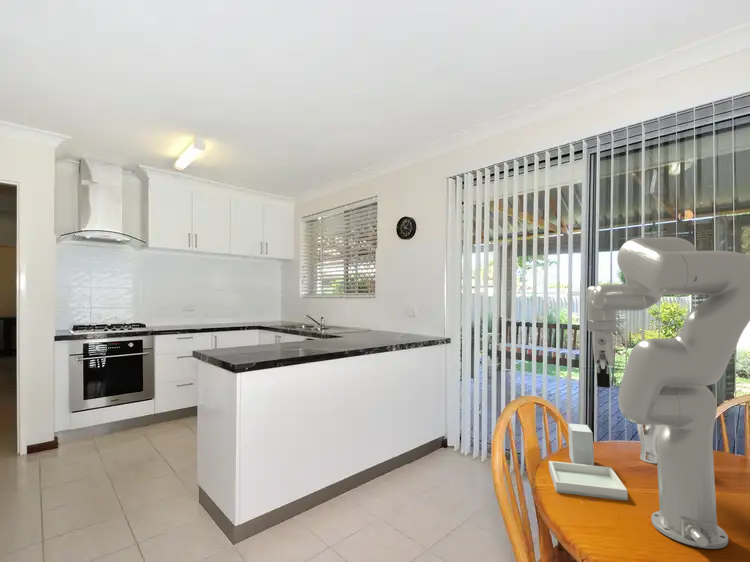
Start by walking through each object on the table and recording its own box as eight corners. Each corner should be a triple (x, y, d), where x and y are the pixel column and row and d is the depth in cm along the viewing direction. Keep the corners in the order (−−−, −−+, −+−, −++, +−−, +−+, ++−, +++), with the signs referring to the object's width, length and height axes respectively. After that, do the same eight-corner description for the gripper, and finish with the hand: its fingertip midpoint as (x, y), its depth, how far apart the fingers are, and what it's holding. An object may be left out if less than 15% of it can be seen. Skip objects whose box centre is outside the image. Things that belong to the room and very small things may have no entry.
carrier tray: (627, 500, 95) (627, 490, 95) (556, 492, 99) (555, 482, 100) (611, 476, 108) (611, 467, 108) (549, 469, 113) (548, 460, 113)
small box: (594, 469, 113) (593, 432, 113) (573, 467, 115) (571, 430, 115) (589, 459, 120) (587, 424, 121) (569, 456, 122) (567, 422, 123)
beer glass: (671, 464, 115) (669, 413, 116) (648, 465, 116) (645, 413, 116) (655, 455, 122) (652, 407, 123) (633, 455, 122) (630, 407, 123)
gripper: (617, 329, 108) (619, 391, 107) (615, 324, 123) (617, 379, 122) (586, 328, 111) (588, 388, 111) (588, 324, 126) (590, 377, 126)
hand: (603, 383), depth 116 cm, fingers open, 9 cm apart
